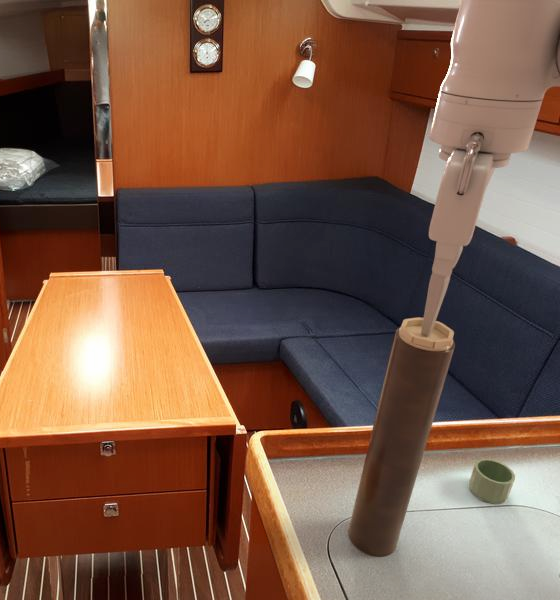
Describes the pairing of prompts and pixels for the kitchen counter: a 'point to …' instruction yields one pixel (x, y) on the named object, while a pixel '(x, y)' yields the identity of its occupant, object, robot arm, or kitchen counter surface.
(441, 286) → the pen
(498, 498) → the olive short hollow cylinder
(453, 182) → the robot arm
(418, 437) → the pedestal
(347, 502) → the kitchen counter surface
